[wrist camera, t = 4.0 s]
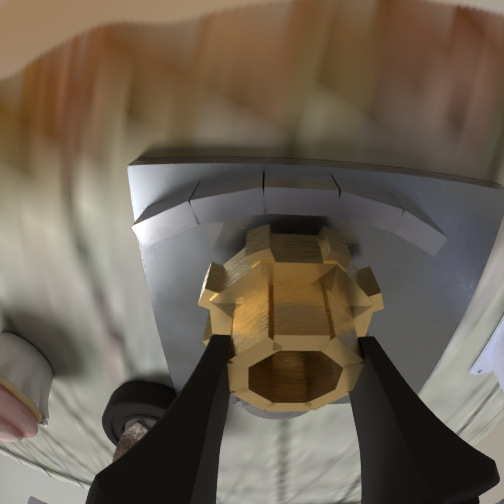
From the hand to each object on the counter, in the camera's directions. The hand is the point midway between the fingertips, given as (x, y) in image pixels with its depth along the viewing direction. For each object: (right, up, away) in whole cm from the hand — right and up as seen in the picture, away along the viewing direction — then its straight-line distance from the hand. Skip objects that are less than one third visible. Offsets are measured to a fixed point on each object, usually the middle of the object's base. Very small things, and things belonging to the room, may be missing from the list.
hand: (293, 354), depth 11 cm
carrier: (+2, +1, +6) cm, 6 cm away
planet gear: (0, +2, +3) cm, 3 cm away
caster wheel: (-10, -10, +14) cm, 20 cm away
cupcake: (-22, -6, +11) cm, 25 cm away
